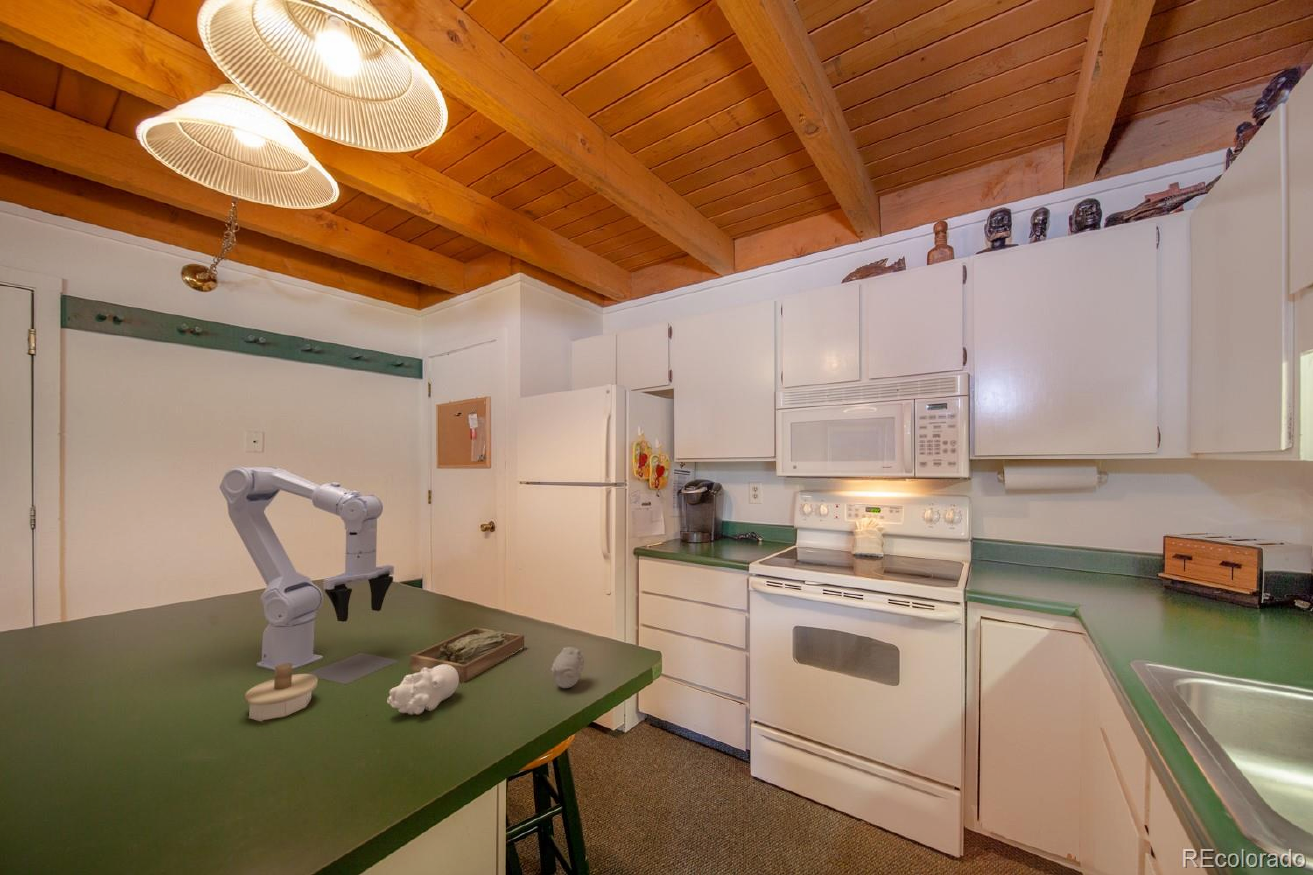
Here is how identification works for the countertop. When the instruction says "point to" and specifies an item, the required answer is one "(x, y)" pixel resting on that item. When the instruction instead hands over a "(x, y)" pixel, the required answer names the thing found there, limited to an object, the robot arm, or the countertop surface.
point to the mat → (352, 668)
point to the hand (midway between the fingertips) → (359, 615)
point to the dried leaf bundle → (472, 646)
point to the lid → (281, 687)
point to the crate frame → (473, 667)
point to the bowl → (278, 708)
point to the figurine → (424, 689)
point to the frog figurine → (567, 667)
